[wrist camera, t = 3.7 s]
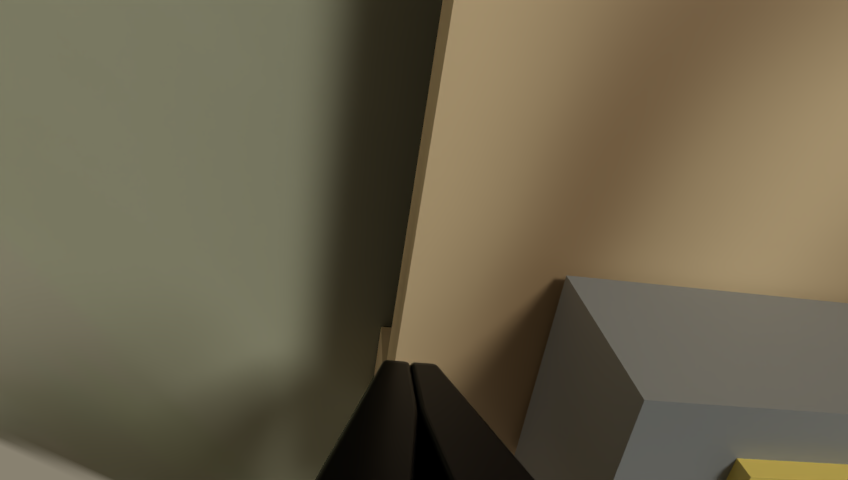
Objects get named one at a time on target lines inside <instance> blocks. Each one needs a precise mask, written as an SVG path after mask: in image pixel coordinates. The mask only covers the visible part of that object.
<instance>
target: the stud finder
mask: <svg viewBox="0 0 848 480" xmlns="http://www.w3.org/2000/svg"><path fill="white" fill-rule="evenodd" d="M514 456H515V457H516V458H517V459H518V461H519V462H520V463H521V464H522V465H523V466H524V468H525V469H526V470H527V471H528V472H529V473H530V475H531V476H532V477H533V478H534V479H535V480H848V303H840V302H830V301H820V300H810V299H800V298H789V297H779V296H769V295H759V294H749V293H739V292H729V291H719V290H709V289H699V288H689V287H678V286H668V285H658V284H648V283H638V282H628V281H618V280H608V279H598V278H588V277H578V276H567V275H566V278H565V282H564V285H563V289H562V292H561V296H560V299H559V303H558V306H557V310H556V313H555V317H554V320H553V323H552V327H551V330H550V334H549V337H548V341H547V344H546V348H545V351H544V355H543V358H542V362H541V365H540V369H539V372H538V375H537V379H536V382H535V386H534V389H533V393H532V396H531V400H530V403H529V407H528V410H527V414H526V417H525V421H524V424H523V427H522V431H521V434H520V438H519V441H518V445H517V448H516V452H515V455H514Z"/></svg>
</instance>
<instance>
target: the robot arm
mask: <svg viewBox="0 0 848 480" xmlns="http://www.w3.org/2000/svg"><path fill="white" fill-rule="evenodd" d="M315 480H535V479H534V478H533V477H532V476H531V475H530V473H529V472H528V471H527V470H526V469H525V468H524V466H523V465H522V464H521V463H520V462H519V461H518V459H517V458H516V457H515V456H514V455H513V454H512V452H511V451H510V450H509V449H508V448H507V447H506V445H505V444H504V443H503V442H502V441H501V439H500V438H499V437H498V436H497V435H496V434H495V432H494V431H493V430H492V429H491V428H490V427H489V425H488V424H487V423H486V422H485V421H484V420H483V418H482V417H481V416H480V415H479V414H478V413H477V411H476V410H475V409H474V408H473V407H472V405H471V404H470V403H469V402H468V401H467V400H466V398H465V397H464V396H463V395H462V394H461V393H460V391H459V390H458V389H457V388H456V387H455V386H454V384H453V383H452V382H451V381H450V380H449V379H448V377H447V376H446V375H445V374H444V373H443V371H442V370H441V369H440V368H439V367H438V366H437V365H436V364H432V363H419V362H413V363H411V365H409V363H408V362H405V361H394V360H385V361H384V362H383V363H382V364H381V366H380V368H379V369H378V371H377V373H376V375H375V376H374V378H373V380H372V382H371V383H370V385H369V387H368V388H367V390H366V392H365V394H364V395H363V397H362V399H361V401H360V402H359V404H358V406H357V408H356V409H355V411H354V413H353V415H352V416H351V418H350V420H349V422H348V423H347V425H346V427H345V429H344V430H343V432H342V434H341V436H340V437H339V439H338V441H337V442H336V444H335V446H334V448H333V449H332V451H331V453H330V455H329V456H328V458H327V460H326V462H325V463H324V465H323V467H322V469H321V470H320V472H319V474H318V476H317V477H316V479H315Z"/></svg>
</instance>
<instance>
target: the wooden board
mask: <svg viewBox="0 0 848 480" xmlns="http://www.w3.org/2000/svg"><path fill="white" fill-rule="evenodd" d="M566 275H567V276H578V277H588V278H598V279H608V280H618V281H628V282H638V283H648V284H658V285H668V286H678V287H689V288H699V289H709V290H719V291H729V292H739V293H749V294H759V295H769V296H779V297H789V298H800V299H810V300H820V301H830V302H840V303H848V0H443V2H442V8H441V15H440V21H439V27H438V34H437V40H436V47H435V53H434V59H433V66H432V72H431V79H430V85H429V91H428V98H427V104H426V111H425V117H424V124H423V130H422V136H421V143H420V149H419V156H418V162H417V168H416V175H415V181H414V188H413V194H412V201H411V207H410V213H409V220H408V226H407V233H406V239H405V245H404V252H403V258H402V265H401V271H400V278H399V284H398V290H397V297H396V303H395V310H394V316H393V322H392V328H391V327H381V331H380V338H379V345H378V352H377V358H376V365H375V372H374V376H375V375H376V373H377V371H378V369H379V368H380V366H381V364H382V363H383V362H384V361H385V360H394V361H405V362H408V363H409V365H411V363H413V362H419V363H432V364H436V365H437V366H438V367H439V368H440V369H441V370H442V371H443V373H444V374H445V375H446V376H447V377H448V379H449V380H450V381H451V382H452V383H453V384H454V386H455V387H456V388H457V389H458V390H459V391H460V393H461V394H462V395H463V396H464V397H465V398H466V400H467V401H468V402H469V403H470V404H471V405H472V407H473V408H474V409H475V410H476V411H477V413H478V414H479V415H480V416H481V417H482V418H483V420H484V421H485V422H486V423H487V424H488V425H489V427H490V428H491V429H492V430H493V431H494V432H495V434H496V435H497V436H498V437H499V438H500V439H501V441H502V442H503V443H504V444H505V445H506V447H507V448H508V449H509V450H510V451H511V452H512V454H513V455H515V452H516V448H517V445H518V441H519V438H520V434H521V431H522V427H523V424H524V421H525V417H526V414H527V410H528V407H529V403H530V400H531V396H532V393H533V389H534V386H535V382H536V379H537V375H538V372H539V369H540V365H541V362H542V358H543V355H544V351H545V348H546V344H547V341H548V337H549V334H550V330H551V327H552V323H553V320H554V317H555V313H556V310H557V306H558V303H559V299H560V296H561V292H562V289H563V285H564V282H565V278H566Z"/></svg>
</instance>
